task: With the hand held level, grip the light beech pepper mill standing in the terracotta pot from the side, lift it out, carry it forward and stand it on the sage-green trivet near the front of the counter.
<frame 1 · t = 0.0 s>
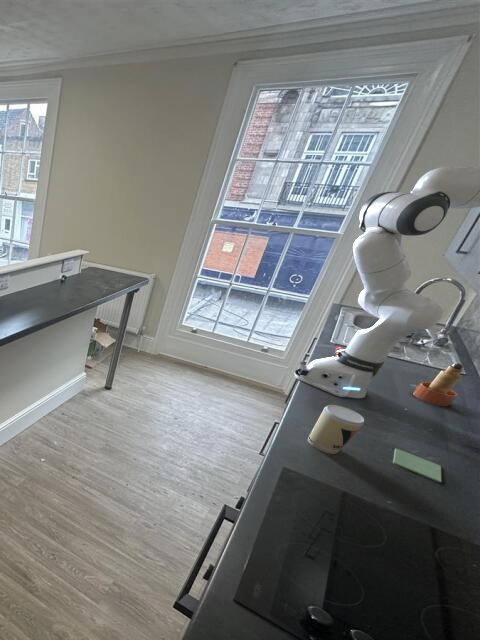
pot: (429, 399, 152), on the worktop
trivet: (416, 465, 116), on the worktop
pepper mill: (430, 398, 152), point 1 cm above the worktop, touching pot
coffee cup: (322, 445, 121), on the worktop
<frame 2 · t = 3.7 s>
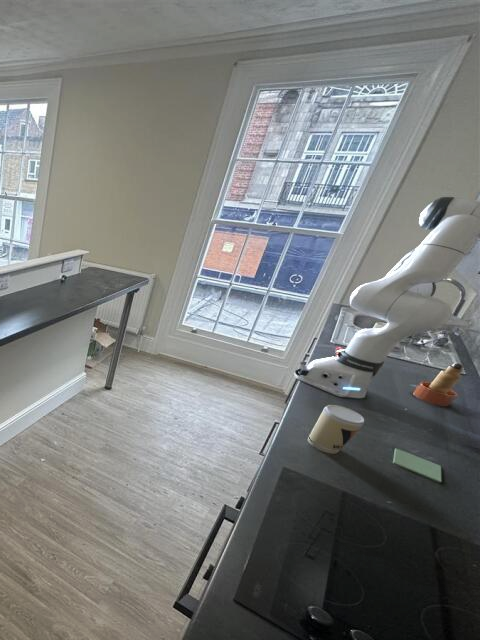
hand: (447, 332, 149), 23 cm above the worktop, tool horizontal, fingers open, 8 cm apart
nothing on the worktop moved.
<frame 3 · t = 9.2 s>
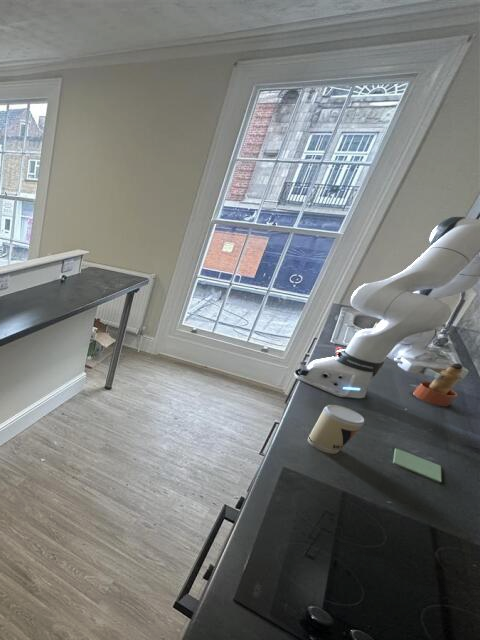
hand: (450, 378, 146), 10 cm above the worktop, tool horizontal, fingers closed on pepper mill, 5 cm apart
pepper mill: (430, 398, 152), point 1 cm above the worktop, touching gripper, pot
everything else where it was.
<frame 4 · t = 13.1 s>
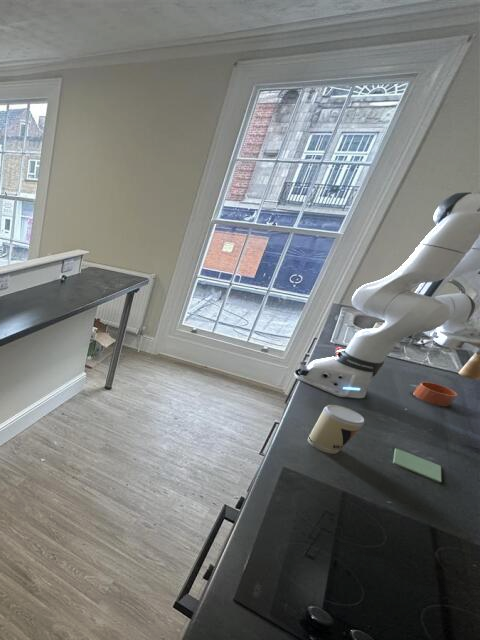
pepper mill: (468, 375, 141), point 13 cm above the worktop, touching gripper
everything else where it was.
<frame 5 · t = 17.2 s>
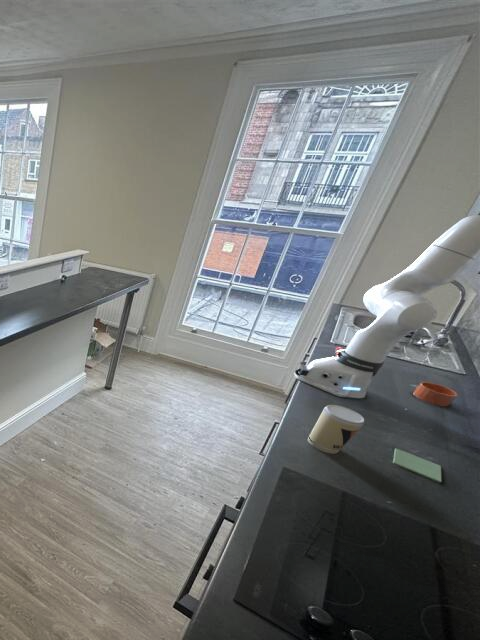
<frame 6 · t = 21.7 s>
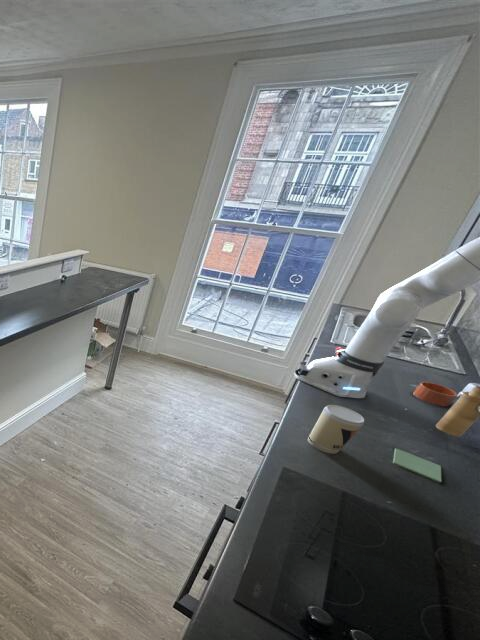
hand: (469, 401, 105), 22 cm above the worktop, tool horizontal, fingers closed on pepper mill, 5 cm apart
pepper mill: (448, 430, 110), point 13 cm above the worktop, touching gripper
everything else where it was.
when the fingers open (10 cm above the worktop, at t = 25.5 s): pepper mill stays where it is, resting on trivet.
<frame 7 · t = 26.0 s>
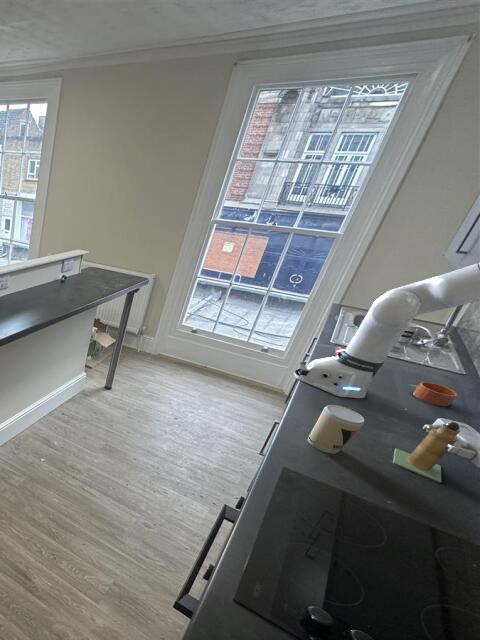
hand: (436, 437, 111), 10 cm above the worktop, tool horizontal, fingers open, 8 cm apart
pepper mill: (418, 464, 116), resting on trivet
everything else where it was.
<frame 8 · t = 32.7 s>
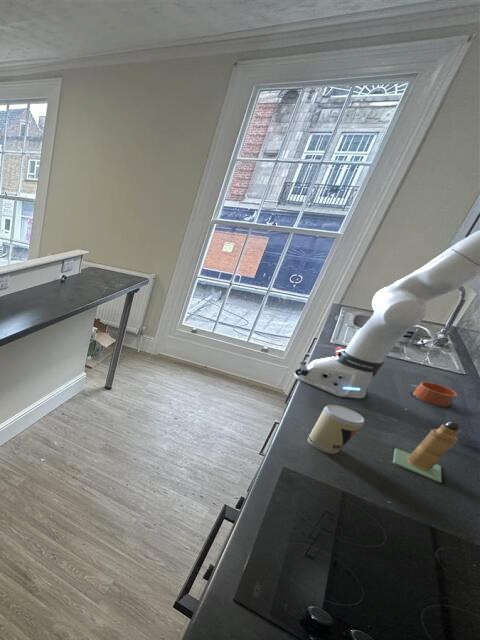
nothing on the worktop moved.
at the end: pepper mill inside the target area on the trivet (0.2 cm from its centre), point 0.5 cm above the trivet's base; pepper mill tilted 0°; the gripper is holding nothing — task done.
